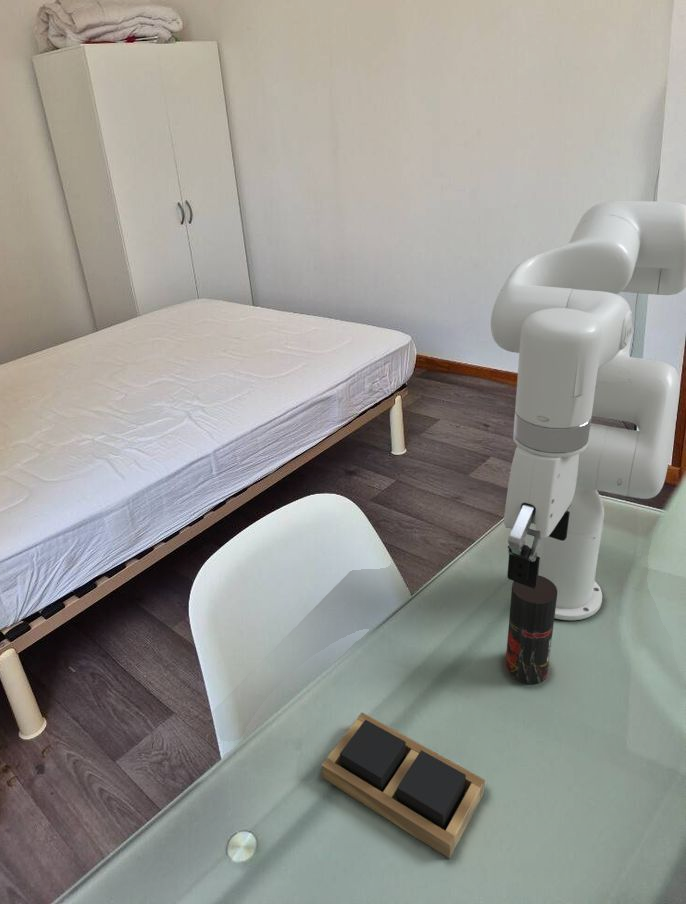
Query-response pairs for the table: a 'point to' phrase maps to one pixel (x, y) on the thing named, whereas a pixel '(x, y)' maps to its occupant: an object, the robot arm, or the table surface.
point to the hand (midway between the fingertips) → (537, 558)
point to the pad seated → (373, 755)
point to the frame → (387, 799)
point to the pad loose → (432, 789)
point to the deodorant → (530, 631)
